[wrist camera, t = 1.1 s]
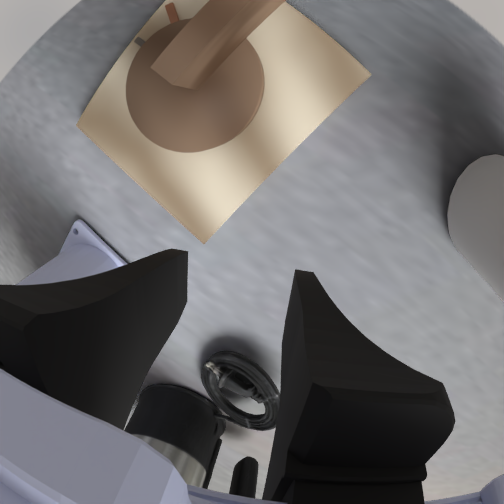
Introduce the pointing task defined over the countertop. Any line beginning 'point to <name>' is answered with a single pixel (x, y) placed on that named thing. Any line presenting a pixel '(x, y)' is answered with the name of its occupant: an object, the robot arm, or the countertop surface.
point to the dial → (199, 77)
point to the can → (480, 219)
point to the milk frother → (206, 420)
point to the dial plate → (249, 140)
